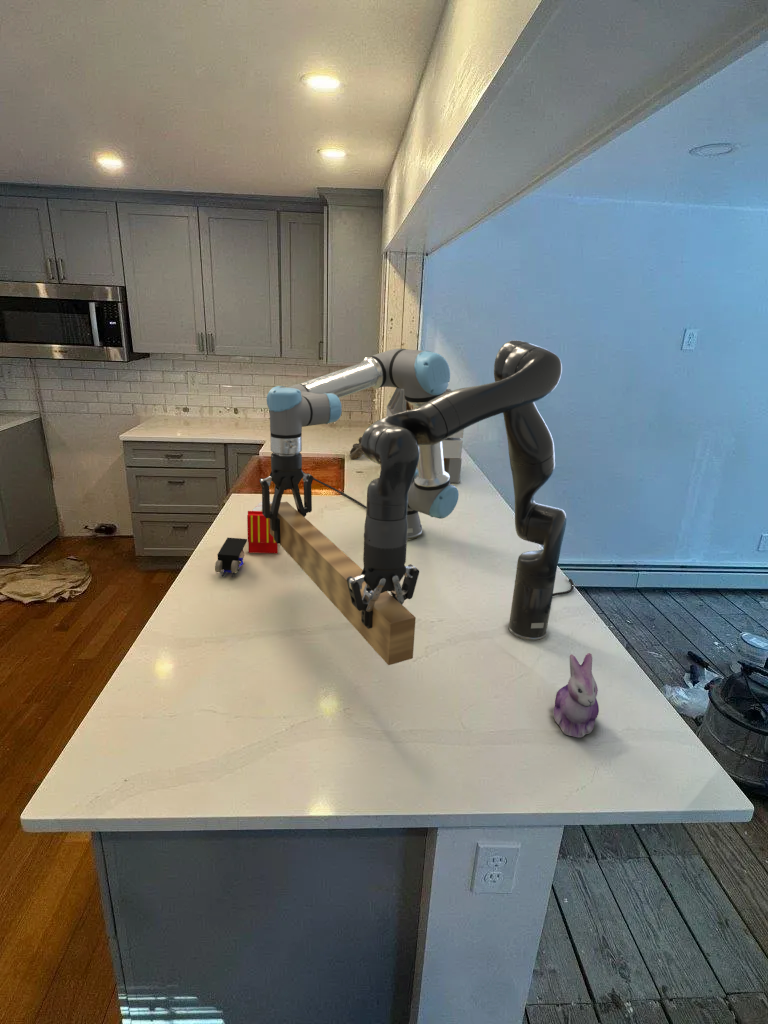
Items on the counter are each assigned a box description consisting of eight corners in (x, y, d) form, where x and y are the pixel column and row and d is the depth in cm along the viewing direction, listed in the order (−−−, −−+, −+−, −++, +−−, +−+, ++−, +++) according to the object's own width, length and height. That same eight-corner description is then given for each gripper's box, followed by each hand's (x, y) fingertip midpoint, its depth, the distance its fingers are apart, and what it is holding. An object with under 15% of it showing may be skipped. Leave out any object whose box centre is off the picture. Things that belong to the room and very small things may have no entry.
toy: (293, 496, 204) (280, 513, 174) (293, 532, 206) (280, 555, 177) (259, 495, 203) (240, 512, 174) (259, 531, 206) (241, 554, 177)
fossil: (349, 442, 312) (371, 426, 307) (360, 455, 315) (381, 440, 310) (343, 455, 293) (366, 439, 288) (355, 470, 296) (377, 454, 291)
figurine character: (238, 584, 162) (249, 557, 175) (236, 562, 158) (247, 536, 172) (215, 584, 161) (227, 556, 175) (212, 561, 158) (225, 535, 171)
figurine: (577, 747, 104) (590, 678, 99) (539, 713, 113) (549, 648, 108) (613, 732, 109) (628, 665, 104) (573, 700, 117) (585, 637, 112)
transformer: (382, 463, 289) (386, 382, 275) (445, 464, 293) (451, 384, 279) (390, 482, 257) (394, 392, 243) (460, 483, 261) (468, 394, 247)
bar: (269, 533, 152) (268, 503, 149) (287, 530, 155) (287, 501, 152) (388, 665, 98) (390, 623, 96) (412, 658, 101) (415, 617, 98)
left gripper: (254, 459, 132) (258, 551, 140) (326, 453, 140) (325, 539, 148) (245, 452, 138) (249, 540, 146) (314, 446, 147) (314, 529, 155)
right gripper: (358, 553, 92) (355, 642, 98) (431, 539, 99) (425, 624, 105) (338, 536, 98) (337, 621, 104) (409, 525, 105) (404, 605, 111)
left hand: (287, 539), depth 147 cm, fingers closed on bar, 5 cm apart
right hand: (381, 622), depth 104 cm, fingers closed on bar, 5 cm apart
